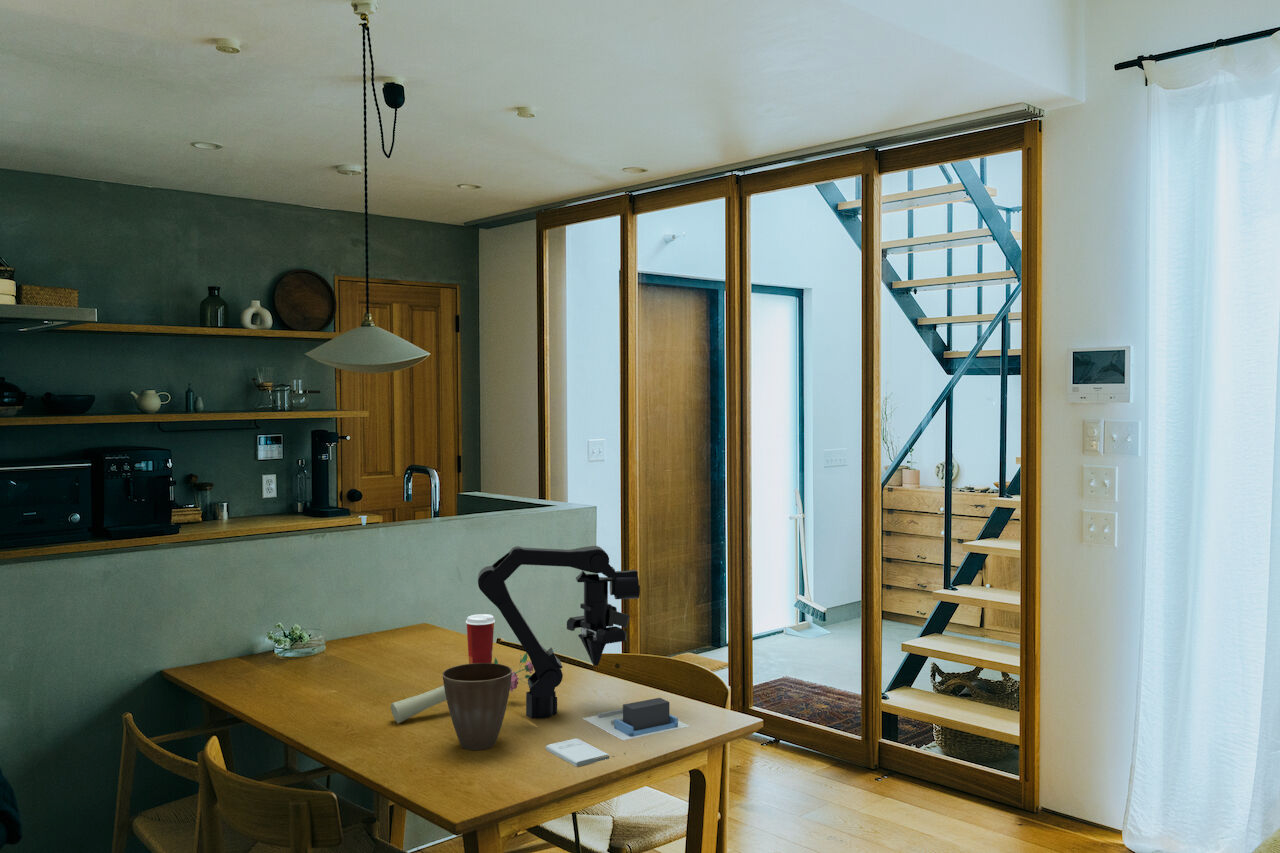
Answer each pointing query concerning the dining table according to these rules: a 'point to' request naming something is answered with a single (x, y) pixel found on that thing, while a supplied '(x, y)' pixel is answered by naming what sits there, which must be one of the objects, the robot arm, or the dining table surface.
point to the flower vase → (440, 696)
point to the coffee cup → (480, 638)
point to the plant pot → (477, 702)
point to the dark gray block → (646, 713)
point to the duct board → (623, 731)
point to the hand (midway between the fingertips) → (595, 665)
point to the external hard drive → (576, 752)
